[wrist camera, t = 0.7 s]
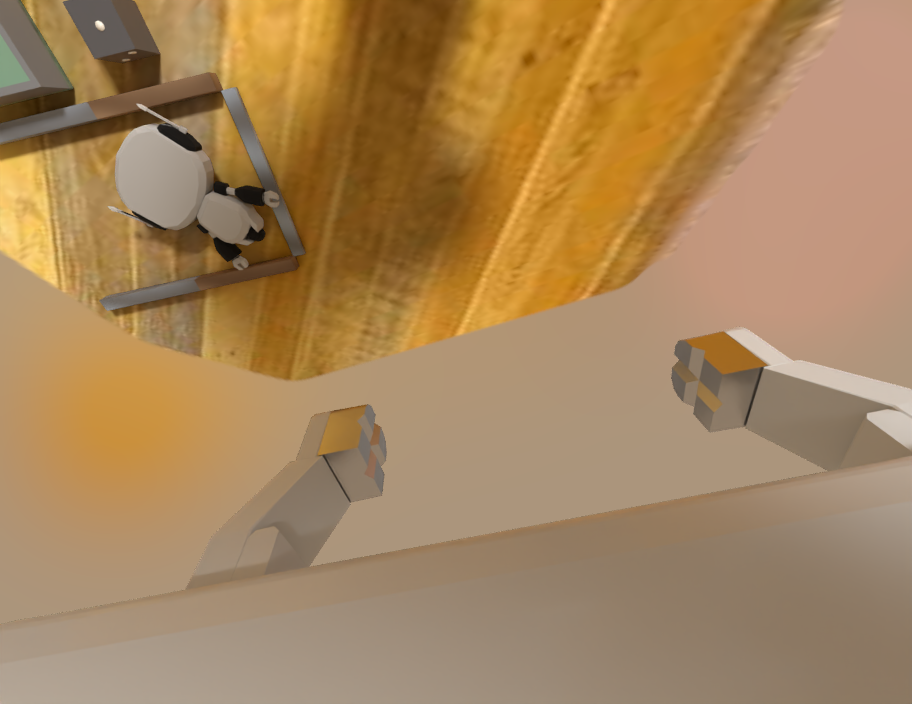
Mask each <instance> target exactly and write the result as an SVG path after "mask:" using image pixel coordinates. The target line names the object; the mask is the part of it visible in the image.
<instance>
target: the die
mask: <svg viewBox="0 0 912 704" xmlns="http://www.w3.org/2000/svg"><path fill="white" fill-rule="evenodd" d="M63 4H64V5H65V7H66V9H67V11H68V12H69V14H70V16H71V18H72V19H73V21H74V23H75V25H76V27H77V28H78V30H79V32H80V34H81V35H82V37H83V39H84V41H85V42H86V44H87V46H88V48H89V50H90V51H91V53H92V55H93V57H94V58H95V59H99V60H105V61H112V62H119V63H126V62H130V61H134V60H138V59H142V58H146V57H150V56H154V55H158V54H160V52H159V50H158V48H157V46H156V44H155V42H154V40H153V38H152V36H151V34H150V31H149V29H148V27H147V25H146V23H145V21H144V19H143V17H142V15H141V13H140V11H139V9H138V7H137V5H136V3H135V1H132V0H68V1H64V2H63Z"/></svg>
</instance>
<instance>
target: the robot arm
mask: <svg viewBox="0 0 912 704" xmlns="http://www.w3.org/2000/svg"><path fill="white" fill-rule="evenodd" d="M674 354H675V355H676V357H677V358H678V359H679V361H678V362H677V363H676V364H675V365H674V367H673V368H672V377H671V379H672V383H673V387H674V390H675V392H676V393H677V395H678V397H679V398H680V399H681V400H682V401H683V402H684V403H686V404H689V405H692V406H694V413H693V414H694V415H695V416H696V418H697V419H698V420H699V421H700V422H701V423H702V424H703V426H704V427H705V428H706V429H707V430H708V431H709V432H716V431H722V430H727V429H733V428H740V427H746V429H748V430H750V431H752V432H754V433H756V434H758V435H760V436H761V437H763V438H765V439H767V440H769V441H771V442H773V443H775V444H777V445H779V446H781V447H783V448H785V449H787V450H789V451H791V452H792V453H795V454H796V455H798V456H800V457H802V458H804V459H806V460H808V461H810V462H812V463H814V464H816V465H818V466H820V467H822V468H823V469H825V470H827V472H822V473H815V474H810V475H805V476H799V477H794V478H788V479H783V480H778V481H772V482H766V483H761V484H756V485H750V486H745V487H739V488H734V489H729V490H723V491H718V492H712V493H707V494H701V495H696V496H691V497H685V498H680V499H674V500H669V501H664V502H659V503H653V504H648V505H642V506H636V507H631V508H626V509H621V510H615V511H609V512H604V513H598V514H593V515H588V516H582V517H577V518H571V519H566V520H561V521H555V522H550V523H544V524H539V525H534V526H528V527H523V528H517V529H512V530H506V531H501V532H496V533H491V534H485V535H479V536H474V537H468V538H463V539H458V540H452V541H446V542H441V543H436V544H430V545H425V546H419V547H414V548H409V549H403V550H398V551H393V552H387V553H381V554H376V555H371V556H365V557H360V558H354V559H349V560H343V561H339V562H333V563H327V564H322V565H317V566H311V567H309V566H310V565H311V563H312V562H313V560H314V558H315V557H316V556H317V554H318V553H319V551H320V549H321V548H322V547H323V545H324V544H325V542H326V541H327V539H328V537H329V536H330V535H331V533H332V531H333V530H334V529H335V527H336V525H337V524H338V523H339V521H340V520H341V518H342V516H343V515H344V514H345V512H346V511H347V509H348V508H349V506H350V505H351V504H350V503H351V502H355V501H359V500H364V499H369V498H373V497H377V496H382V491H383V482H384V472H383V470H382V468H381V466H382V465H383V464H384V462H385V461H386V441H385V437H384V434H383V431H382V429H381V427H380V426H378V425H376V424H375V423H374V422H375V413H374V411H373V409H372V407H371V406H370V405H368V404H367V405H361V406H357V407H351V408H345V409H340V410H334V411H330V412H324V413H320V414H315V415H314V416H313V417H312V418H311V420H310V423H309V425H308V428H307V431H306V434H305V437H304V439H303V442H302V445H301V448H300V450H299V453H298V456H297V459H296V461H292V462H290V463H289V464H288V465H286V466H285V467H284V468H283V469H282V470H281V471H280V472H279V473H278V474H277V475H276V476H275V477H274V478H273V479H272V480H271V481H270V482H269V483H267V484H266V485H265V486H264V487H263V488H262V489H261V490H260V491H259V492H258V493H257V494H256V495H255V496H254V497H253V498H252V499H251V500H250V501H249V502H247V503H246V504H245V505H244V506H243V507H242V508H241V509H240V510H239V511H238V512H237V513H236V514H235V515H234V516H233V517H232V518H231V519H230V520H229V521H228V522H226V523H225V524H224V525H223V526H222V527H221V528H220V529H219V530H218V531H217V532H216V533H215V534H214V535H213V536H212V537H211V539H210V541H209V542H208V545H207V547H206V549H205V551H204V553H203V555H202V557H201V559H200V561H199V563H198V565H197V567H196V569H195V571H194V573H193V575H192V577H191V579H190V581H189V583H188V585H187V588H186V589H185V590H181V591H176V592H171V593H165V594H160V595H155V596H149V597H143V598H138V599H133V600H127V601H122V602H116V603H111V604H105V605H100V606H95V607H90V608H84V609H78V610H74V611H68V612H62V613H57V614H51V615H45V616H39V617H33V618H26V619H20V620H15V621H11V622H7V623H3V624H0V704H912V389H909V388H905V387H901V386H897V385H894V384H889V383H886V382H882V381H878V380H874V379H871V378H867V377H863V376H859V375H855V374H851V373H848V372H844V371H840V370H836V369H832V368H829V367H825V366H821V365H817V364H813V363H809V362H806V361H802V360H798V361H792V360H791V359H789V358H788V357H786V356H785V355H784V354H782V353H781V352H779V351H778V350H776V349H775V348H774V347H772V346H771V345H769V344H768V343H766V342H765V341H764V340H762V339H761V338H759V337H758V336H756V335H755V334H753V333H752V332H751V331H749V330H748V329H746V328H742V327H737V328H732V329H728V330H723V331H719V332H718V333H713V334H708V335H703V336H698V337H693V338H689V339H684V340H680V341H678V342H677V344H676V346H675V352H674Z"/></svg>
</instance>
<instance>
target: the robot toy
mask: <svg viewBox="0 0 912 704" xmlns="http://www.w3.org/2000/svg"><path fill="white" fill-rule="evenodd" d="M137 106H138V107H139V108H141V109H142V110H144V111H147V112H149V113H151V114H153V115H154V116H156V117H158V118H160V119H162V120H164V121H165V122H167V123H165V124H160V125H158V124H149V125H143V126H141V127H138V128H135V129H134V130H133V131H131V132H130V133H129V135H128V136H127V137H126V138H125V140H124V142H123V143H122V145H121V147H120V149H119V151H118V153H117V155H116V167H115V180H116V187H117V191H118V193H119V195H120V198H121V200H122V201H123V202H124V204H125V205H126V206H127V207H128V208H129V209H130V210H132V213H133V214H134V215H136V216H137V217H136V216H133V215H131V214H128V213H126V212H123V211H121V210H119V209H118V208H115V207H113V206H107V207H108V208H109V209H110V210H112V211H115V212H119V213H121V214H123V215H126V216H128V217H131V218H133V219H136V220H138V221H141V222H143V223H146V224H147V226H150V227H152V228H153V227H155V228H159V229H163V230H167V229H173V230H179V229H182V228H185V227H186V226H188V225H189V224H191V223H192V222H194V221H195V220H196V219H197V218H198V220H199V223H200V224H198V225H197V227H198V228H199V229H200V230H201V231H202V232H203V233H208V234H209V235H210V236H211V237H212V238H213V240H214V244H215V247H216V250H217V251H218V253H219V254H220V255H221V256H222V257H223V258H224V259H225V260H226V261H227V262H229V261H231V260H232V262H233V265H234V267H235V268H237V269H238V270H243V269H244V267H245V268H246V267H248V264H249V263H248V261H247V260H246V258H244V257H242V256H240V255H239V254H240V253H241V252H242V251H241V250H240V249H239V248H238V247H237V246H236V245H235V243H238V244H242V245H246V246H247V245H249V244H251V243H253V242H254V241H261V240H263V239H264V237H265V231H264V230H263V227H264V220H263V218H262V217H261V216H260V215H259V214H258V213H257V212H256V210H255V208H254V206H253V205H258V206H264V204H267V205H268V206H270V207H278V205H279V201H273V200H272V198H273V199H277V200H278V199H279V196H278V194H277V193H275V192H273V191H267V192H265V189H263V188H258V187H253V186H243V187H239V188H231V187H229V185H228V184H227V183H222V182H217V181H216V182H215V183H214V171H213V167H212V163H211V160H210V158H209V157H208V156H207V155H206V154H205V152H204V151H203V150H202V146H201V145H200V144H199V143H198V142H197V141H196V139H195V138H194V137H193V136H192V135H190V134H189V133H187V130H188V129H186V128H184V127H183V126H178V125H177V124H175V123H173V122H171V121H169V120H168V119H166V118H164V117H162V116H160V115H159V114H157V113H155V112H153V111H151V110H150V109H148V108H147V107H145V106H143V105H142V104H137ZM168 123H169V124H168ZM213 184H214V186H213ZM213 188H214V191H212V190H213ZM252 204H253V205H252ZM138 217H139V218H138ZM243 266H244V267H243Z"/></svg>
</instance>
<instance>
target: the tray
mask: <svg viewBox="0 0 912 704" xmlns="http://www.w3.org/2000/svg"><path fill="white" fill-rule="evenodd" d="M70 89H74V88H73V86H72V84H71V83H70V81H69V79H68V78H67V76H66V75H65V73H64V71H63V70H62V68H61V66H60V65H59V63H58V61H57V60H56V58H55V56H54V55H53V53H52V51H51V50H50V48H49V47H48V45H47V43H46V42H45V40H44V38H43V37H42V35H41V33H40V32H39V30H38V28H37V27H36V25H35V23H34V22H33V20H32V19H31V17H30V15H29V14H28V12H27V10H26V9H25V7H24V5H23V4H22V2H21V0H0V107H1V106H5V105H10V104H14V103H18V102H22V101H26V100H30V99H34V98H38V97H42V96H46V95H50V94H54V93H58V92H62V91H66V90H70Z"/></svg>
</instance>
